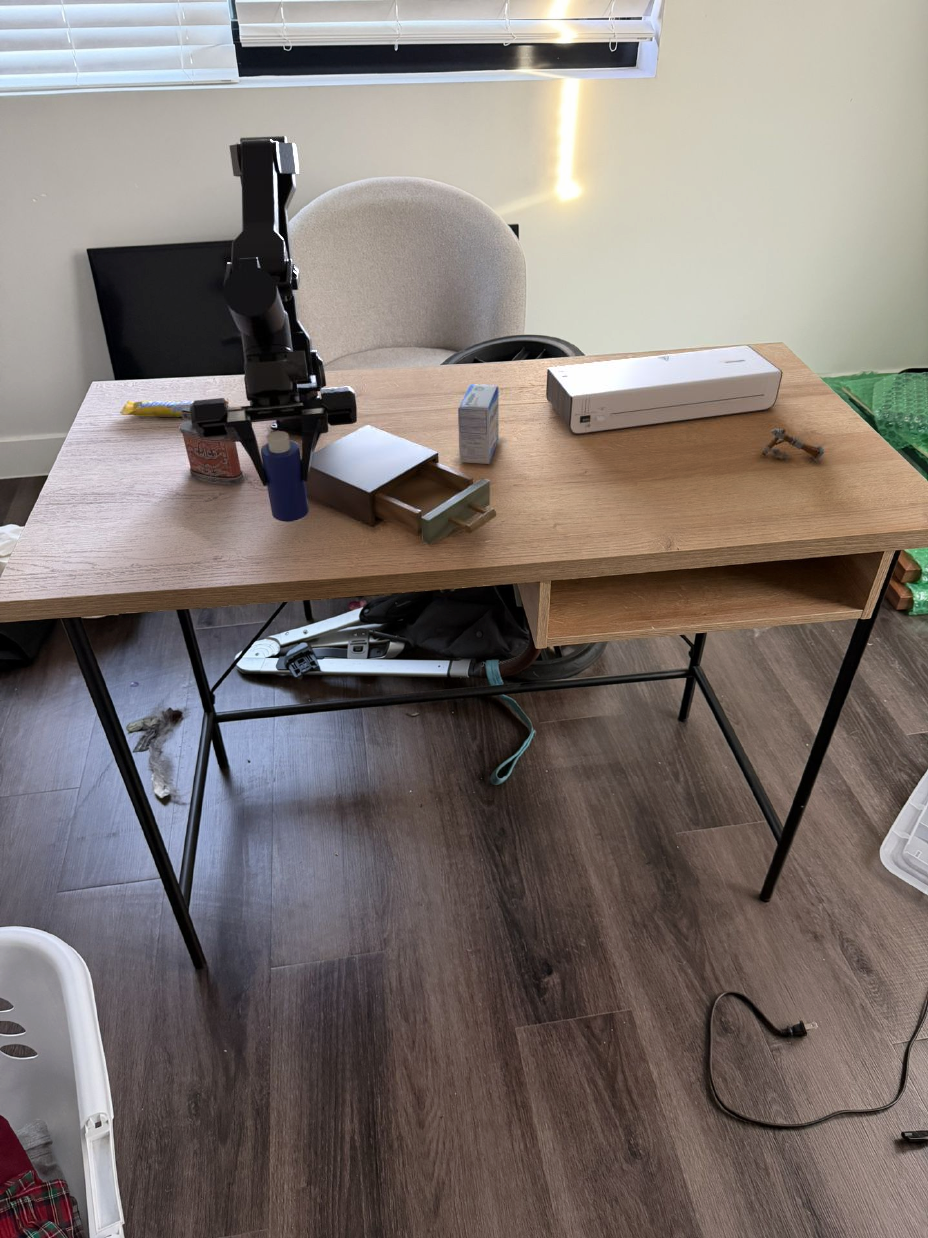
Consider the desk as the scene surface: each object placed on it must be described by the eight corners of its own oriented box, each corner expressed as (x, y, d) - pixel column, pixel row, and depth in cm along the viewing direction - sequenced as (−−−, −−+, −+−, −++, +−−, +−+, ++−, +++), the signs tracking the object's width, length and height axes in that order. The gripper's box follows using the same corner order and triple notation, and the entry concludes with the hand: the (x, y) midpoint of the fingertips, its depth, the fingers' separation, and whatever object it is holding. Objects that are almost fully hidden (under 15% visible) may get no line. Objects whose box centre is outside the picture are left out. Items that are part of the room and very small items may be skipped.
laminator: (740, 380, 143) (747, 344, 139) (778, 412, 133) (787, 374, 129) (545, 404, 137) (547, 367, 133) (570, 439, 127) (573, 400, 124)
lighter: (248, 474, 121) (235, 408, 114) (236, 486, 118) (222, 419, 112) (199, 466, 123) (183, 400, 116) (185, 477, 120) (169, 411, 114)
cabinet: (439, 486, 118) (438, 452, 114) (372, 527, 110) (369, 492, 106) (370, 457, 124) (367, 424, 121) (302, 494, 116) (297, 460, 113)
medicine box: (489, 465, 122) (489, 408, 116) (458, 463, 122) (457, 406, 117) (498, 439, 128) (499, 384, 122) (469, 437, 128) (468, 382, 123)
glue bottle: (267, 507, 105) (253, 431, 98) (302, 499, 106) (290, 423, 100) (278, 525, 102) (264, 448, 95) (313, 516, 103) (302, 439, 97)
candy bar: (234, 406, 138) (232, 395, 137) (229, 418, 135) (226, 407, 133) (129, 408, 138) (126, 397, 137) (122, 420, 135) (118, 409, 133)
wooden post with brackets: (755, 448, 122) (774, 422, 120) (802, 470, 124) (822, 444, 121) (757, 454, 121) (777, 428, 118) (805, 476, 123) (825, 450, 120)
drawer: (513, 514, 110) (513, 490, 108) (453, 556, 103) (452, 531, 101) (419, 475, 118) (418, 452, 116) (358, 512, 111) (355, 488, 109)
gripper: (172, 331, 92) (189, 472, 91) (346, 317, 95) (365, 454, 93) (192, 372, 103) (207, 498, 102) (347, 358, 106) (364, 481, 104)
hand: (284, 483), depth 100 cm, fingers closed on glue bottle, 4 cm apart
